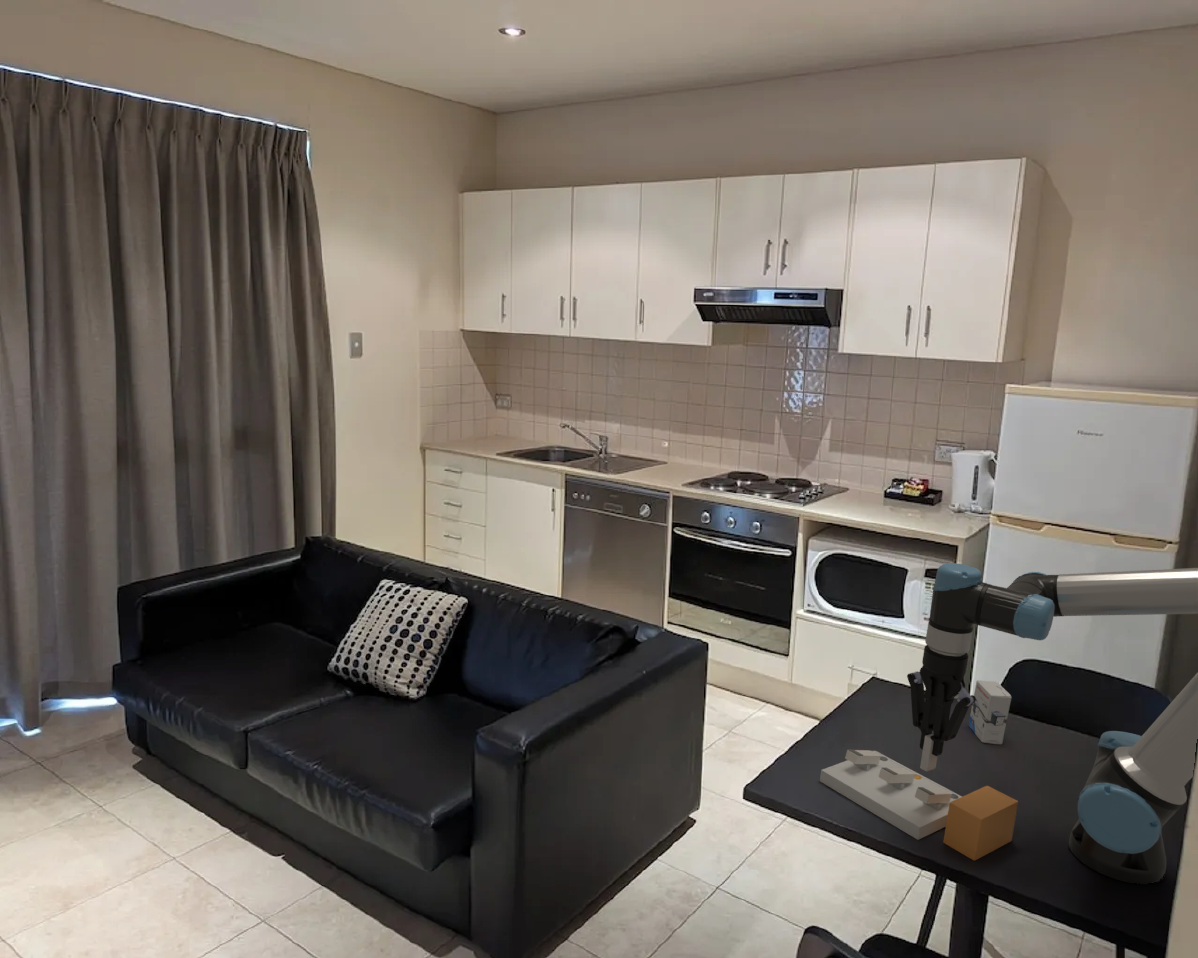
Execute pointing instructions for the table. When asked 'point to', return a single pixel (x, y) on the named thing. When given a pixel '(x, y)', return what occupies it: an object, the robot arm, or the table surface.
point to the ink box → (989, 711)
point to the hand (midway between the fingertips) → (927, 767)
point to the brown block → (980, 822)
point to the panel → (889, 795)
